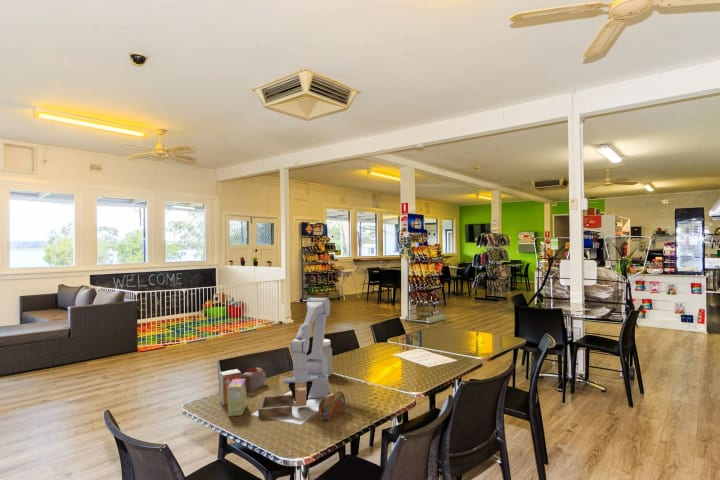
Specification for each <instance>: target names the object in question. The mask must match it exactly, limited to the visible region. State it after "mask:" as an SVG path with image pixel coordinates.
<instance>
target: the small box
mask: <svg viewBox="0 0 720 480" xmlns="http://www.w3.org/2000/svg"><path fill="white" fill-rule="evenodd" d="M218 375H219V376H218V377H219V379H218V380H219V383H218V384H219V401H220V403H221V404H222V405H223V406H225V405H228V398H227V387H228V386H229V384H230V383H231V381H232V380H233V379H241V375H242V372H241V371H240V370H239V369H238V368H235V369H230V370H229V369H228V370H225V371H219V374H218Z"/></svg>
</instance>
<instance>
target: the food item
mask: <svg viewBox="0 0 720 480" xmlns="http://www.w3.org/2000/svg"><path fill="white" fill-rule="evenodd" d="M266 377H267V376H266V371H265V370H264V369H263V368H261V367H250V368H249V367H248V368H247V369H246V372H244V373H243V374H242V373H241V379H246V394H247V393H248V394H250V393H251V392H253V391H254V390H258V389H259V388H260V387H261V386H262V385H264V383H266V380H267V378H266Z"/></svg>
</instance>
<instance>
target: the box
mask: <svg viewBox="0 0 720 480" xmlns="http://www.w3.org/2000/svg"><path fill="white" fill-rule="evenodd" d="M227 398H228V404H227V416H228V417H235V416H242V415H243V414H244V411H245V410H246V408H247V393H246V379H233V380H232V381H231V383H230V384H229V386H228V387H227Z"/></svg>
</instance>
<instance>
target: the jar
mask: <svg viewBox="0 0 720 480" xmlns="http://www.w3.org/2000/svg"><path fill="white" fill-rule="evenodd" d="M331 344H332V343H331V339H328V338H324V342H323V351H322V354H323V355H324V356H325V357H326V358H327V365H328V369H327V373H326V374H325V375H328V377H331V376H332V374H333V370H334V369H333V366H334V365H333V348H332V347H331V346H332V345H331ZM314 361H321V360H314Z"/></svg>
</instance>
